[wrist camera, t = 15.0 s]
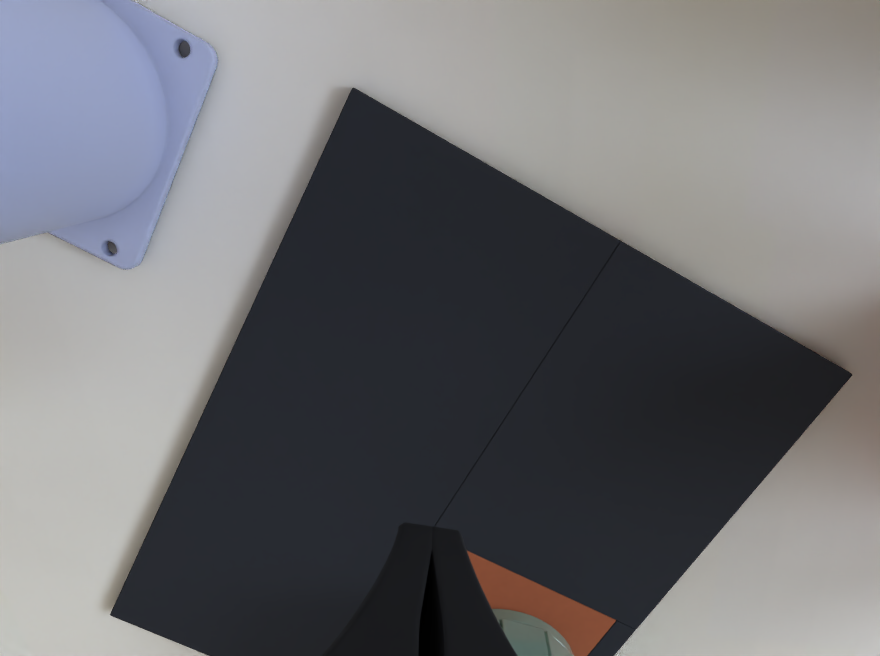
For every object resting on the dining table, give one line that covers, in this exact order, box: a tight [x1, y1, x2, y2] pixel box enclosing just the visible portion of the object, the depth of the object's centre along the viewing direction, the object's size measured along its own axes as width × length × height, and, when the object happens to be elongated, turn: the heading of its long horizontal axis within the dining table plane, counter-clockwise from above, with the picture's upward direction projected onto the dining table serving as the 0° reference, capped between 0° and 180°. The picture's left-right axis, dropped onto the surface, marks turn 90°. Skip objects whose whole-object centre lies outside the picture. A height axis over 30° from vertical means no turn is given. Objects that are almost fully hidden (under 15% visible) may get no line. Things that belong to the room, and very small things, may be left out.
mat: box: [110, 88, 852, 656], centre depth 23 cm, size 20×24×1 cm
